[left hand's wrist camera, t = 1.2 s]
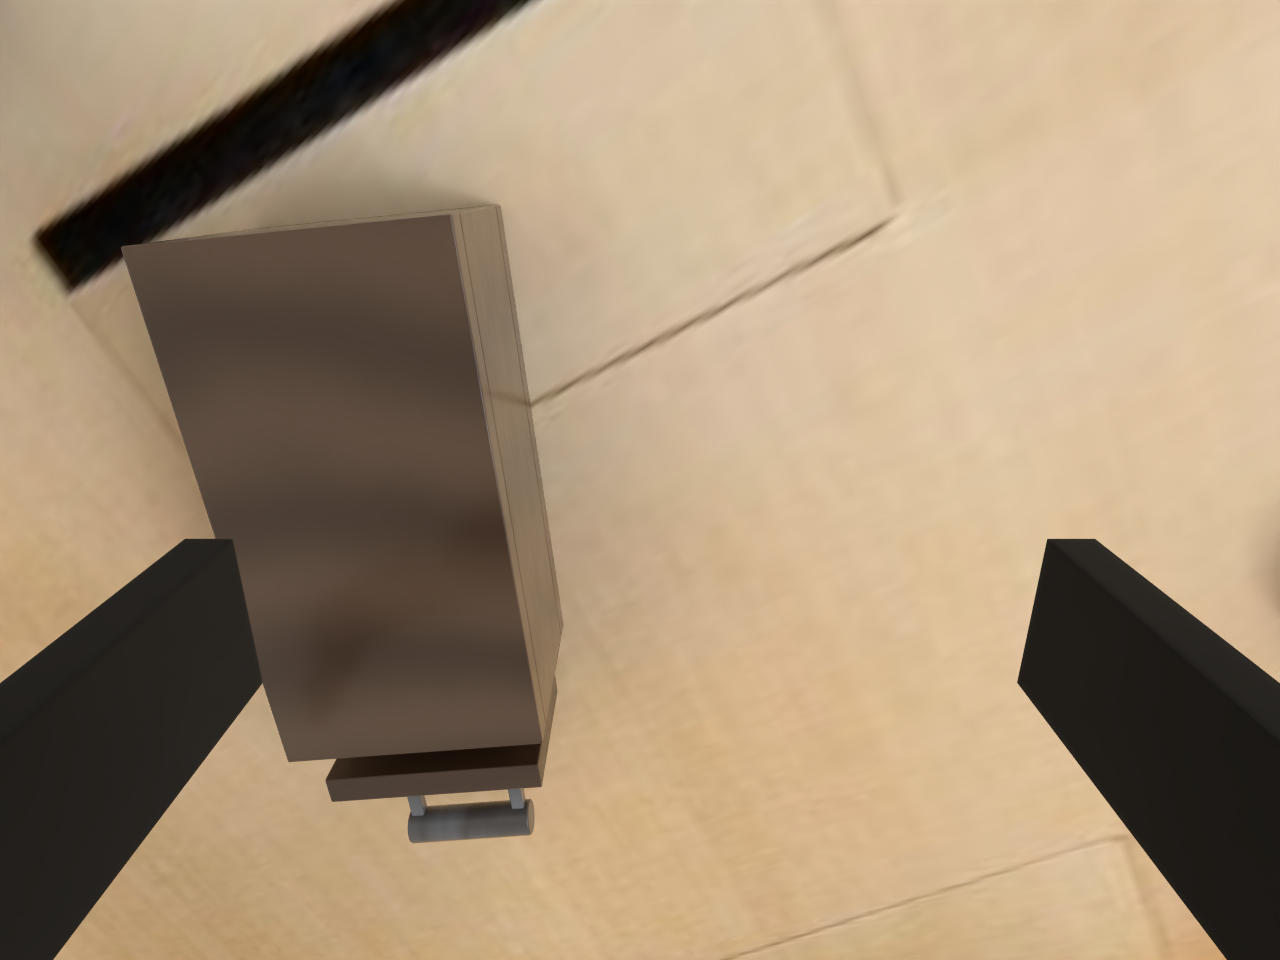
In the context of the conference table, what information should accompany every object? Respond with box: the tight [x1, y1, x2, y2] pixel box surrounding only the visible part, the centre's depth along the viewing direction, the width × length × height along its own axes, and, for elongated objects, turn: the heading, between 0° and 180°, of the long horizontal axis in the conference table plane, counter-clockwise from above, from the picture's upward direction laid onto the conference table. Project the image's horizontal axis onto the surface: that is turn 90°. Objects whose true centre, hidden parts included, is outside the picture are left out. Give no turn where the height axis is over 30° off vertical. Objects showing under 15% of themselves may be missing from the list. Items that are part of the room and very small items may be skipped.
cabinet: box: [121, 205, 563, 762], centre depth 31 cm, size 20×10×9 cm, turn 5°
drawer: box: [326, 674, 557, 843], centre depth 33 cm, size 24×9×6 cm, turn 5°
